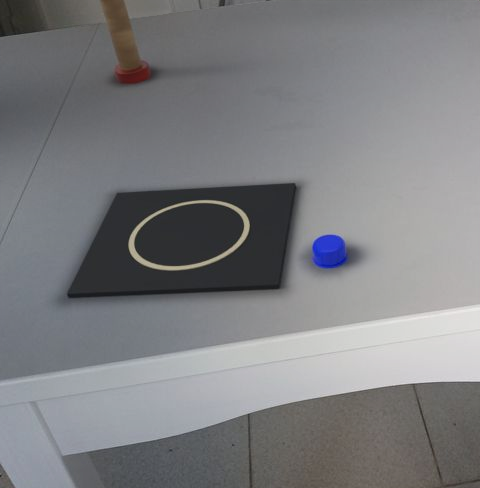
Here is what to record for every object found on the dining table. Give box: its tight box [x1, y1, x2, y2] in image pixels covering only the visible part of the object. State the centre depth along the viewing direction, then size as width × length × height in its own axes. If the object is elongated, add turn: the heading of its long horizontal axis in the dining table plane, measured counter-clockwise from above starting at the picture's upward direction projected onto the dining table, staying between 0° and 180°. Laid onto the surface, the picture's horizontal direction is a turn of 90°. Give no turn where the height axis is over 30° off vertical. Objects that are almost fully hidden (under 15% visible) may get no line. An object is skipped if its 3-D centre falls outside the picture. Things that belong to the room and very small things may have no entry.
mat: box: [66, 182, 297, 299], centre depth 66 cm, size 18×16×1 cm
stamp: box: [99, 0, 152, 85], centre depth 91 cm, size 4×4×13 cm
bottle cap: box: [311, 233, 348, 269], centre depth 62 cm, size 3×3×2 cm
